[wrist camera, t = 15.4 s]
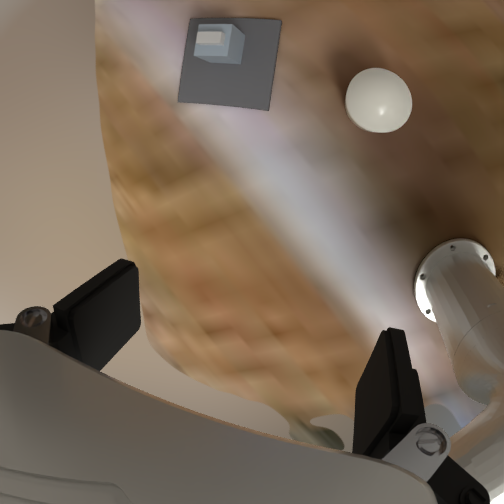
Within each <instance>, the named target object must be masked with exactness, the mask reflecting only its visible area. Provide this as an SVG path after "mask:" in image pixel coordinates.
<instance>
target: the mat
mask: <svg viewBox="0 0 504 504" xmlns="http://www.w3.org/2000/svg"><path fill="white" fill-rule="evenodd" d="M199 24H233V25H234V26H235V27H236V28H238V29H239V30H240V31H241V32H242V33H243V34H244V35H245V40H244V46H243V53H242V59H241V64H229V63H210V62H208V61H205V60H203V59H201V58H198V57H196V56H194V51H195V44H196V38H197V32H198V26H199ZM281 25H282V21H281V20H270V19H252V18H198V19H190V23H189V29H188V35H187V41H186V47H185V53H184V60H183V66H182V73H181V81H180V88H179V96H178V102H183V103H199V104H212V105H223V106H233V107H242V108H251V109H259V110H266V111H269V106H270V99H271V92H272V85H273V78H274V72H275V65H276V58H277V52H278V45H279V38H280V31H281Z"/></svg>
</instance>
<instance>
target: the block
mask: <svg viewBox="0 0 504 504" xmlns="http://www.w3.org/2000/svg"><path fill="white" fill-rule="evenodd" d="M244 40H245V35H244V34H243V33H242V32H241V31H240V30H239V29H238V28H236V27H235V26H234V25H233V24H199V26H198V32H197V38H196V44H195V51H194V56H196V57H198V58H201V59H203V60H205V61H208V62H210V63H229V64H241V59H242V53H243V46H244Z"/></svg>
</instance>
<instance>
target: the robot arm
mask: <svg viewBox="0 0 504 504" xmlns="http://www.w3.org/2000/svg"><path fill="white" fill-rule="evenodd" d="M451 245H452V247H450V246H451ZM421 274H423V275H421ZM414 294H415V299H416V302H417V305H418V307H419V309H420V310H421V312H422V313H423V314H424V315H425V316H426V317H427V318H429V319H430V320H432V321H434V322H436V323H437V325H438V328H439V330H440V333H441V336H442V338H443V341H444V344H445V347H446V350H447V352H448V355H449V358H450V361H451V364H452V367H453V370H454V373H455V376H456V379H457V382H458V384H459V386H460V388H461V390H462V391H463V392H464V393H465V394H466V395H467V396H468V397H469V398H471V399H472V400H474V401H476V402H478V403H481V404H484V405H487V407H486V408H485V409H484V410H483V411H482V412H481V413H480V414H479V415H478V416H476V417H475V418H474V419H473V420H472V421H471V422H470V423H469V424H468V425H466V426H465V427H464V428H462V429H461V430H460V431H458V432H457V433H456V434H454V435H453V436H452V437H450V438H449V436H448V434H447V433H446V432H445V431H444V430H443V429H442V428H440V427H439V426H437V425H434V424H431V423H426V418H425V411H424V405H423V399H422V393H421V388H420V382H419V377H418V373H417V370H415V369H412V365H411V360H410V355H409V350H408V345H407V341H406V336H405V332H404V330H400V329H395V328H390V327H389V328H388V329H387V331H385V330H383V331H382V332H381V334H380V336H379V338H378V341H377V343H376V345H375V348H374V350H373V352H372V354H371V357H370V359H369V361H368V363H367V365H366V368H365V370H364V372H363V374H362V376H361V378H360V380H359V382H358V385H357V388H356V396H355V420H354V436H353V451H352V453H350V452H345V451H341V450H335V449H330V448H325V447H321V446H316V445H311V444H307V443H303V442H298V441H294V440H290V439H286V438H282V437H278V436H274V435H270V434H266V433H262V432H259V431H255V430H252V429H248V428H245V427H241V426H238V425H235V424H232V423H228V422H225V421H222V420H219V419H216V418H213V417H210V416H207V415H204V414H201V413H198V412H195V411H193V410H190V409H187V408H184V407H182V406H179V405H176V404H174V403H171V402H169V401H166V400H163V399H161V398H159V397H156V396H154V395H151V394H149V393H146V392H144V391H142V390H139V389H137V388H135V387H132V386H130V385H128V384H126V383H123V382H121V381H119V380H117V379H115V378H112V377H110V376H108V375H106V374H104V373H102V372H100V370H101V369H102V368H103V367H104V366H105V365H106V364H107V363H108V362H109V361H110V360H111V359H112V358H113V356H114V355H115V354H116V353H117V352H118V351H119V350H120V349H121V348H122V347H123V346H124V345H125V344H126V343H127V342H128V340H129V339H130V338H131V337H132V336H133V335H134V334H135V333H136V332H137V331H138V330H139V328H140V325H141V317H140V298H139V271H138V268H137V267H136V265H135V263H134V262H132V261H128V260H125V259H119V260H117V261H116V262H115V263H113V264H112V265H110V266H109V267H107V268H106V269H104V270H103V271H101V272H100V273H98V274H97V275H95V276H94V277H92V278H91V279H90V280H88V281H87V282H85V283H84V284H82V285H81V286H80V287H78V288H77V289H75V290H74V291H73V292H71V293H70V294H68V295H67V296H66V297H64V298H63V299H61V300H60V301H59V302H57V303H56V304H54V305H53V308H54V312H53V313H50V311H49V310H48V309H46V308H44V307H39V306H34V307H29V308H26V309H24V310H23V311H21V312H20V313H19V314H18V316H17V318H16V321H15V323H12V324H2V325H0V504H504V287H503V285H502V284H501V283H500V282H499V281H498V279H497V278H496V270H495V265H494V261H493V259H492V257H491V255H490V254H489V252H488V251H487V250H486V249H485V248H484V247H483V246H482V245H481V244H479V243H477V242H476V241H473V240H470V239H464V238H458V239H452V240H449V241H446V242H443V243H442V244H440V245H438V246H436V247H435V248H434V249H433V250H432V251H430V252H429V254H428V255H427V256H426V257H425V258H424V259H423V261H422V263H421V264H420V266H419V268H418V271H417V273H416V276H415V281H414Z"/></svg>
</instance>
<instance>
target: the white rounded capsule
mask: <svg viewBox="0 0 504 504" xmlns="http://www.w3.org/2000/svg"><path fill="white" fill-rule="evenodd" d="M345 109H346V113H347V115H348V117H349V119H350V120H351V121H352V123H353V124H355V125H356V126H357V127H359V128H360V129H362V130H365V131H369V132H380V133H386V132H391V131H394V130H396V129H398V128H400V127H401V126H403V125H404V124H405V122H406V121H407V120H408V118H409V116H410V113H411V110H412V98H411V94H410V91H409V89H408V87H407V85H406V84H405V82H404V81H403V80H402V79H401V78H400V77H399V76H398V75H396V74H395V73H393V72H391V71H389V70H386V69H382V68H370V69H366V70H363V71H361V72H360V73H358V74H357V75H356V76H355V77H354V78H353V79H352V80H351V82H350V84H349V86H348V89H347V94H346V98H345Z"/></svg>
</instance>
